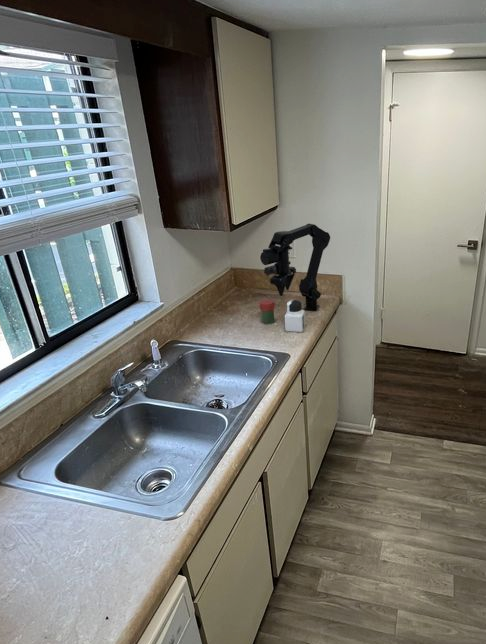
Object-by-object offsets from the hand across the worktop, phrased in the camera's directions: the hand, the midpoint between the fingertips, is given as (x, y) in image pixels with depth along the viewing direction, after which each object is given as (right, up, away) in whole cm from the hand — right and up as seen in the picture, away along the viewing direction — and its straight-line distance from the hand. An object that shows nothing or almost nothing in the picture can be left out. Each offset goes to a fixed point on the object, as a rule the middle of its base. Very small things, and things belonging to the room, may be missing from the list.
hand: (284, 292), depth 203 cm
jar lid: (-8, -7, 0) cm, 11 cm away
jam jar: (-8, -13, +2) cm, 16 cm away
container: (+6, -17, -5) cm, 18 cm away
